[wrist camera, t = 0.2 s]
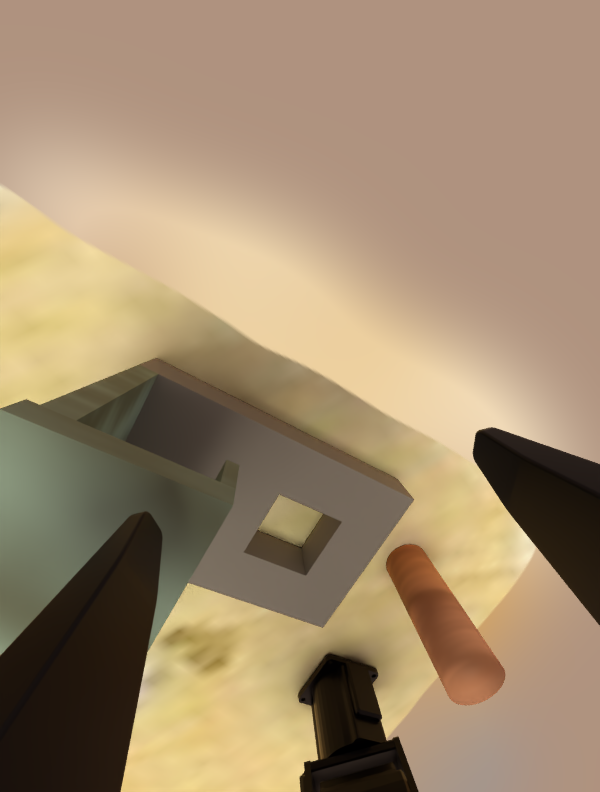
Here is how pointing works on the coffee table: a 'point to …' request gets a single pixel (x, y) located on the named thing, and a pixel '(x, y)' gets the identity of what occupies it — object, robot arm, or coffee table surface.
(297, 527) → the coffee table surface
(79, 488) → the awning
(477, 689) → the peg
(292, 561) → the socket deck
